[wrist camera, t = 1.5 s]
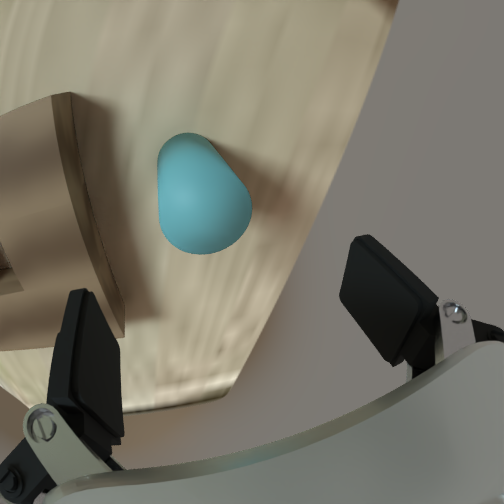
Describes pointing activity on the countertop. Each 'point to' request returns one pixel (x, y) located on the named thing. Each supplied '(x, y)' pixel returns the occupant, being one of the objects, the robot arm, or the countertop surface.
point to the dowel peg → (199, 196)
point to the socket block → (47, 227)
